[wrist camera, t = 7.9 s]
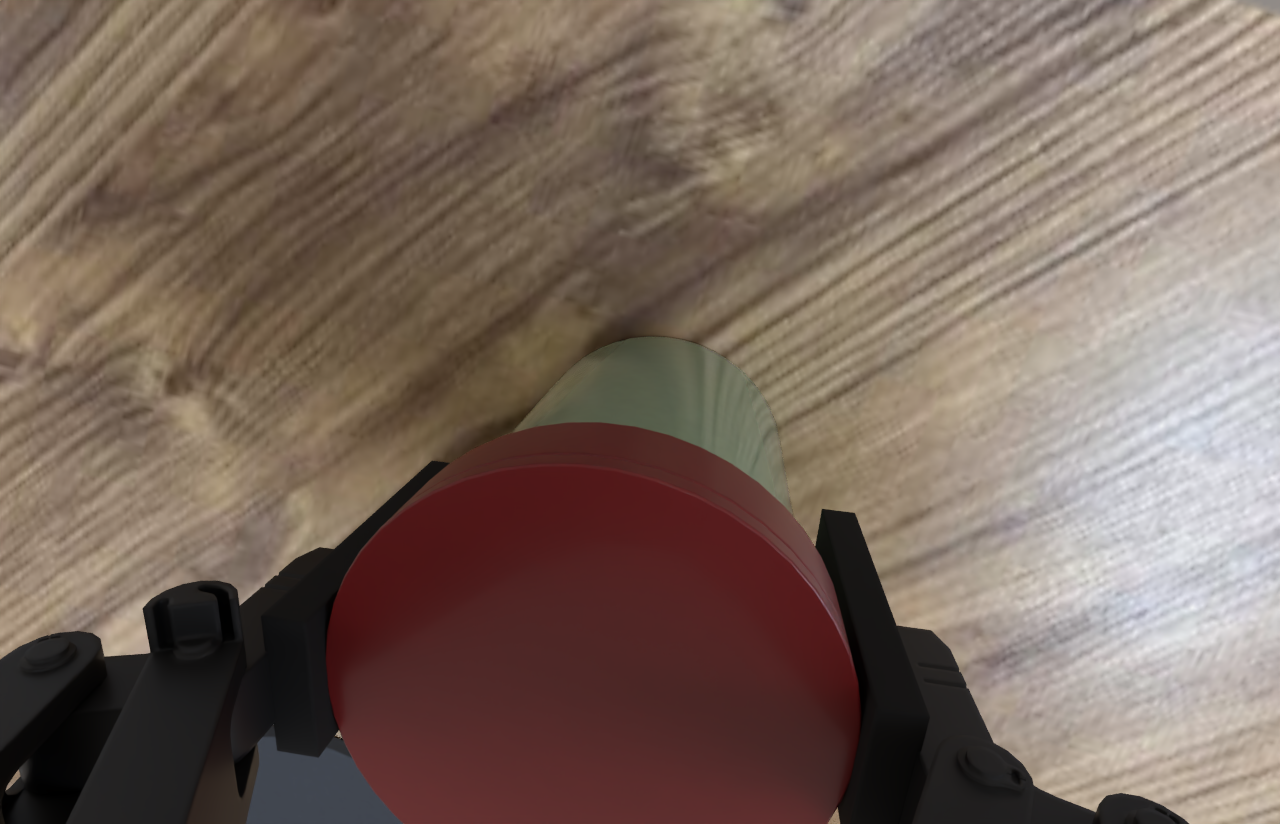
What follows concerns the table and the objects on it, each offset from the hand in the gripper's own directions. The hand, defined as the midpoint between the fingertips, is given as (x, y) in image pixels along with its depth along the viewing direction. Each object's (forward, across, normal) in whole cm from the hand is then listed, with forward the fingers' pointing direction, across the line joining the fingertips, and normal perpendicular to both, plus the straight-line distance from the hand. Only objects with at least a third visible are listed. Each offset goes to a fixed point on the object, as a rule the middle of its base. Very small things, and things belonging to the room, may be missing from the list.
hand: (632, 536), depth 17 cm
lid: (-6, 0, 0) cm, 6 cm away
